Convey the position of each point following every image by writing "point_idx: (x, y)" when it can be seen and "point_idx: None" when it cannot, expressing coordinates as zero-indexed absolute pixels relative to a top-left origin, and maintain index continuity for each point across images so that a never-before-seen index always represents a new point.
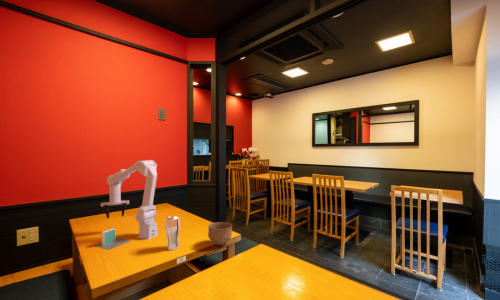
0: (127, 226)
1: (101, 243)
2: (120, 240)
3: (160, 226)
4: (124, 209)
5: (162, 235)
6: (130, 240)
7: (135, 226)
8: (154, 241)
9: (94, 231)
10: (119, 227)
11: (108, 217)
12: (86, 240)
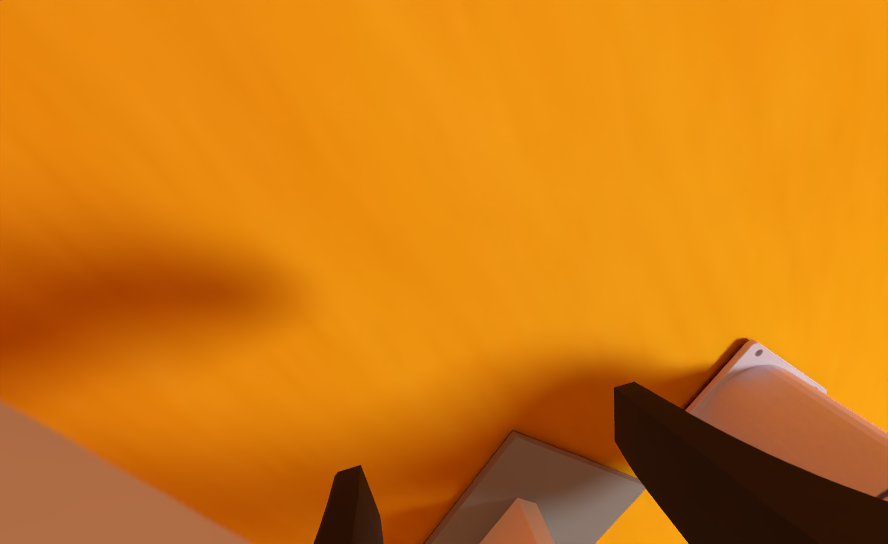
0: (494, 50)
1: (440, 537)
2: (569, 489)
3: (878, 154)
4: (777, 484)
5: (840, 386)
6: (641, 485)
7: (611, 82)
8: None
9: (43, 208)
10: (380, 75)
11: (377, 516)
12: (223, 476)
